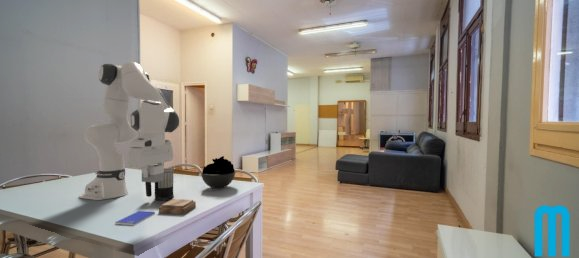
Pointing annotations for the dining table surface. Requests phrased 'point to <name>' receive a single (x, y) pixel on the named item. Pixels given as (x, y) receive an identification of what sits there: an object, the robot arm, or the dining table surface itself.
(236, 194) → the dining table surface
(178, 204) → the walnut stand
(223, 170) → the coal bowl
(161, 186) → the milk frother
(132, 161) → the robot arm
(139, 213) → the hard drive
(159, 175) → the block
